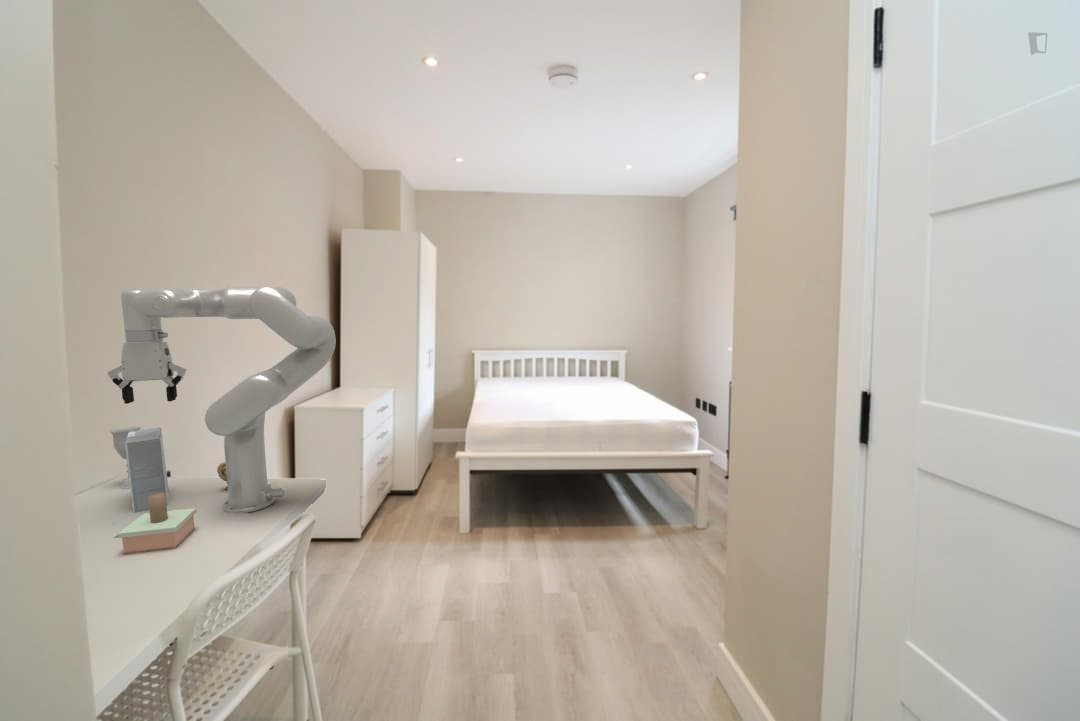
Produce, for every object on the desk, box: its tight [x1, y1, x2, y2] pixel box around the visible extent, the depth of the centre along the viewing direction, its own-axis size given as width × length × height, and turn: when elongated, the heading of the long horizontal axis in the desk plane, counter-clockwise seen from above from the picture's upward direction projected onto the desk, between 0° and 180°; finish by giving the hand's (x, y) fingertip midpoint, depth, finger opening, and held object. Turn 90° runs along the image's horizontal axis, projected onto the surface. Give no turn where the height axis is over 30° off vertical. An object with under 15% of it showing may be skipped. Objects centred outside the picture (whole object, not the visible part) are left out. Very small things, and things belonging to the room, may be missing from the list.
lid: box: [117, 493, 197, 539], centre depth 114 cm, size 11×11×7 cm
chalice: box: [109, 426, 141, 490], centre depth 151 cm, size 7×7×18 cm
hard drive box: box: [125, 427, 169, 513], centre depth 138 cm, size 16×8×20 cm, turn 37°
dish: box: [121, 514, 196, 555], centre depth 114 cm, size 10×10×4 cm
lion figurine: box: [216, 461, 228, 489], centre depth 151 cm, size 15×5×9 cm, turn 164°
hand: (150, 401), depth 129 cm, fingers open, 9 cm apart
